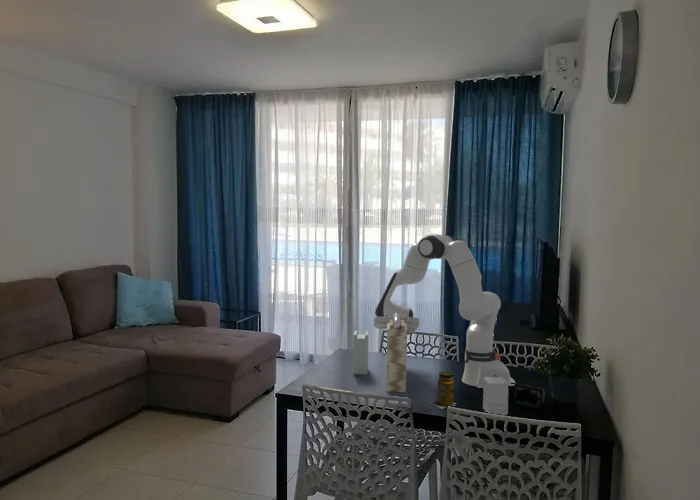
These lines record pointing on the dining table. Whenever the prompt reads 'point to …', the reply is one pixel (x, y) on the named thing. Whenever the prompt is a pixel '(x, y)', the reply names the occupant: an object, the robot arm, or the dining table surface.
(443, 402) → the condiment
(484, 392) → the supplement box
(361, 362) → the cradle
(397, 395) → the dining table surface
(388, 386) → the block
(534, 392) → the end cap
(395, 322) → the axle
